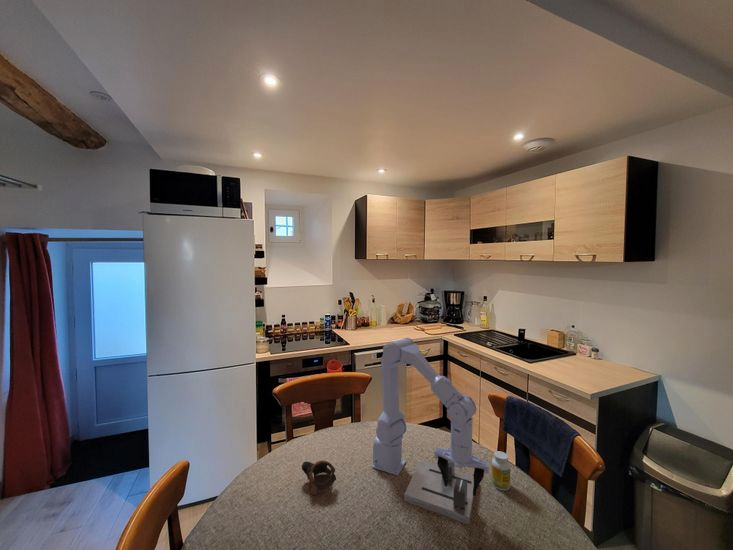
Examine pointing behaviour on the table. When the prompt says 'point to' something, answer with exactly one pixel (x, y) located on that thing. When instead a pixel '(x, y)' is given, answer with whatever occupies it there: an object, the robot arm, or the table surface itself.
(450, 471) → the far fader
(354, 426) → the table surface
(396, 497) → the table surface
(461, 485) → the block
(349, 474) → the table surface
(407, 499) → the fader panel
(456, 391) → the robot arm
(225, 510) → the table surface
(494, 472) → the supplement bottle
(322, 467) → the pottery mug
